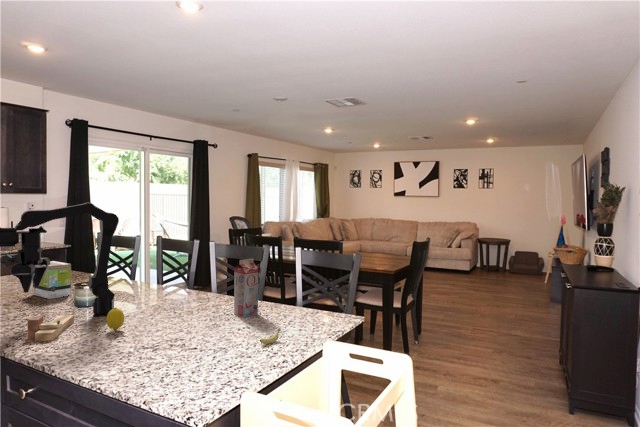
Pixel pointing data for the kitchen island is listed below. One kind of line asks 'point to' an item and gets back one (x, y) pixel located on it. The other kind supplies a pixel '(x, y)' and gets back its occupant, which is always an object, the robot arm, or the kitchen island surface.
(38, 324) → the chocolate colored brick
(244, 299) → the juice carton
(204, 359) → the kitchen island surface
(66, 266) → the tea box
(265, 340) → the banana
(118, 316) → the lemon
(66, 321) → the plank
